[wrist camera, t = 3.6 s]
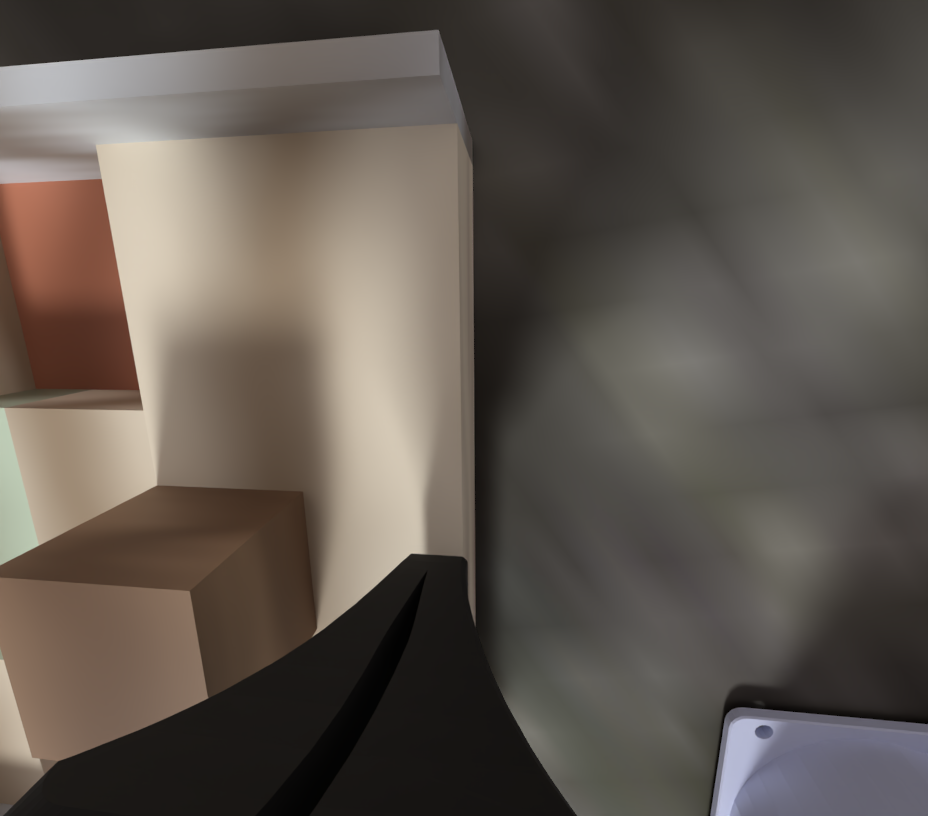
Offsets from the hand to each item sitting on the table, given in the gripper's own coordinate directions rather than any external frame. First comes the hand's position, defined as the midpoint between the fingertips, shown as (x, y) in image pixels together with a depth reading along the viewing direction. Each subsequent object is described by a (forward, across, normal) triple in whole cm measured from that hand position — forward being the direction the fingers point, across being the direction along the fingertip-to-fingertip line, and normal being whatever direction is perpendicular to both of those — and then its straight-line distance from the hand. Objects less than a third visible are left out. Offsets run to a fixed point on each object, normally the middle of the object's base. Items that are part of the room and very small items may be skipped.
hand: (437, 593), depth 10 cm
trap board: (+4, +8, 0) cm, 9 cm away
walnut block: (+1, +6, 0) cm, 6 cm away
